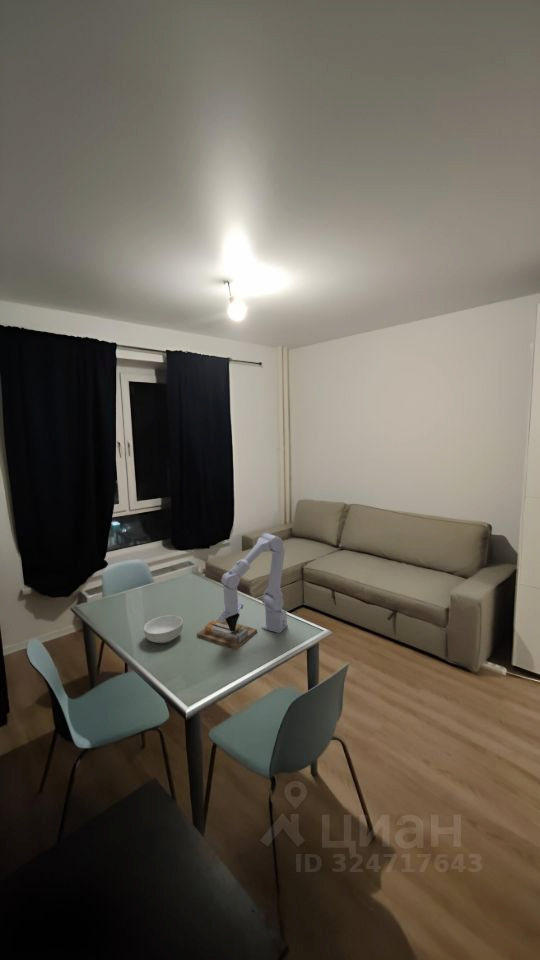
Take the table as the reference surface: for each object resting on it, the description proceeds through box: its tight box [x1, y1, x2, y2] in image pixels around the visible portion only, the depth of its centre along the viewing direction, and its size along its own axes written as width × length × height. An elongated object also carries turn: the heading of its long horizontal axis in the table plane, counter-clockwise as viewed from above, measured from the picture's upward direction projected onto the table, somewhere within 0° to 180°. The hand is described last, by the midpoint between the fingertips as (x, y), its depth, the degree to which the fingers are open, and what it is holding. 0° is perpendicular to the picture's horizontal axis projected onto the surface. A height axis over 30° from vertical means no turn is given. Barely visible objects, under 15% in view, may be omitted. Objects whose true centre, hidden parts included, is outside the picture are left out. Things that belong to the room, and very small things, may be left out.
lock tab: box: [235, 623, 242, 631], centre depth 169 cm, size 3×4×1 cm
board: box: [196, 618, 258, 651], centre depth 173 cm, size 22×16×2 cm
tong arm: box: [208, 620, 242, 634], centre depth 172 cm, size 18×3×3 cm, turn 58°
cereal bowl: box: [143, 614, 184, 644], centre depth 171 cm, size 17×17×7 cm
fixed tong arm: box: [204, 623, 248, 643], centre depth 170 cm, size 19×7×3 cm, turn 58°
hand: (232, 630), depth 166 cm, fingers closed
